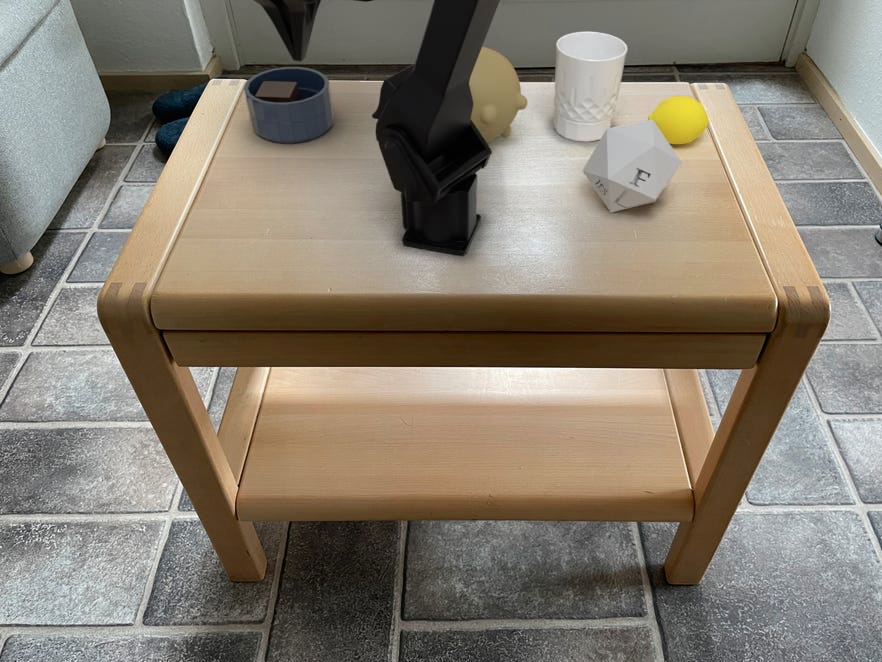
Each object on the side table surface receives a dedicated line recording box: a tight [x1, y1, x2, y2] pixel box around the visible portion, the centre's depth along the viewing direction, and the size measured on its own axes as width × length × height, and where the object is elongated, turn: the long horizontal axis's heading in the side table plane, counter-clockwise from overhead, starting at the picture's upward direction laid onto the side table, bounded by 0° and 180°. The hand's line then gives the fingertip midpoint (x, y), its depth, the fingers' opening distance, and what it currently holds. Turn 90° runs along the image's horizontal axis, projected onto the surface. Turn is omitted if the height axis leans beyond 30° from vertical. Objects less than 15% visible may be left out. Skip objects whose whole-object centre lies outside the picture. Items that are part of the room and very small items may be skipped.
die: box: [582, 119, 683, 213], centre depth 76 cm, size 8×9×10 cm
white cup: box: [553, 31, 628, 143], centre depth 86 cm, size 8×8×10 cm
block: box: [255, 81, 300, 103], centre depth 88 cm, size 4×4×4 cm
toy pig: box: [469, 46, 529, 143], centre depth 85 cm, size 10×12×11 cm
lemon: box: [647, 95, 710, 145], centre depth 86 cm, size 7×5×5 cm
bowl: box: [243, 66, 335, 144], centre depth 88 cm, size 10×10×5 cm
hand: (299, 59), depth 72 cm, fingers closed
